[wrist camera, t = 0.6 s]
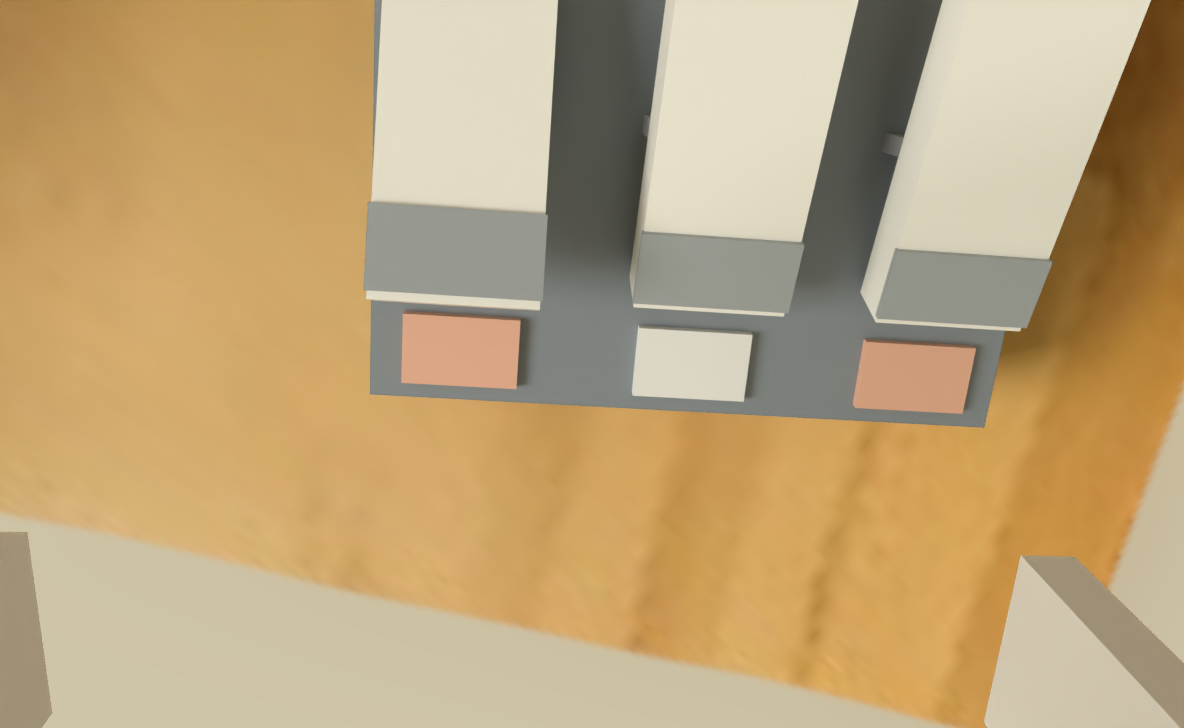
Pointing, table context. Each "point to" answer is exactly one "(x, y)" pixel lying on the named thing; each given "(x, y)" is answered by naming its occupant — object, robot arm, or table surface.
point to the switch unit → (693, 338)
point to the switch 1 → (461, 153)
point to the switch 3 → (994, 157)
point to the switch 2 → (735, 151)
